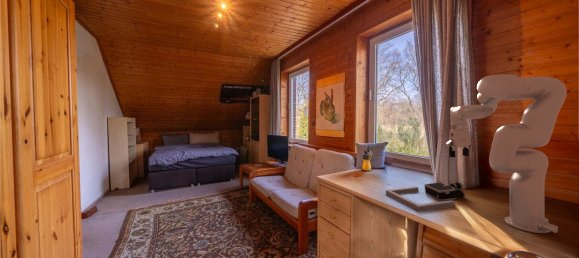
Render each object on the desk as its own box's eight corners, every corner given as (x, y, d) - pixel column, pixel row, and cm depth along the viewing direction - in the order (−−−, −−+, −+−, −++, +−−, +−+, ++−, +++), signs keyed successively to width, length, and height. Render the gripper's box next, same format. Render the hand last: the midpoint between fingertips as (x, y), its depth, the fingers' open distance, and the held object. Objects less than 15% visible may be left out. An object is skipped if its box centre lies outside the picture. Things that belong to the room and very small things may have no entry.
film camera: (450, 191, 130) (471, 200, 115) (423, 195, 130) (440, 204, 115) (448, 178, 130) (469, 185, 115) (422, 182, 130) (438, 189, 115)
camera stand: (454, 206, 108) (454, 201, 108) (418, 211, 104) (418, 206, 104) (416, 190, 134) (415, 186, 134) (385, 194, 130) (385, 190, 130)
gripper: (452, 128, 119) (453, 158, 120) (477, 126, 123) (477, 156, 123) (440, 128, 126) (441, 156, 127) (464, 126, 130) (464, 154, 131)
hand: (459, 156), depth 125 cm, fingers open, 9 cm apart
